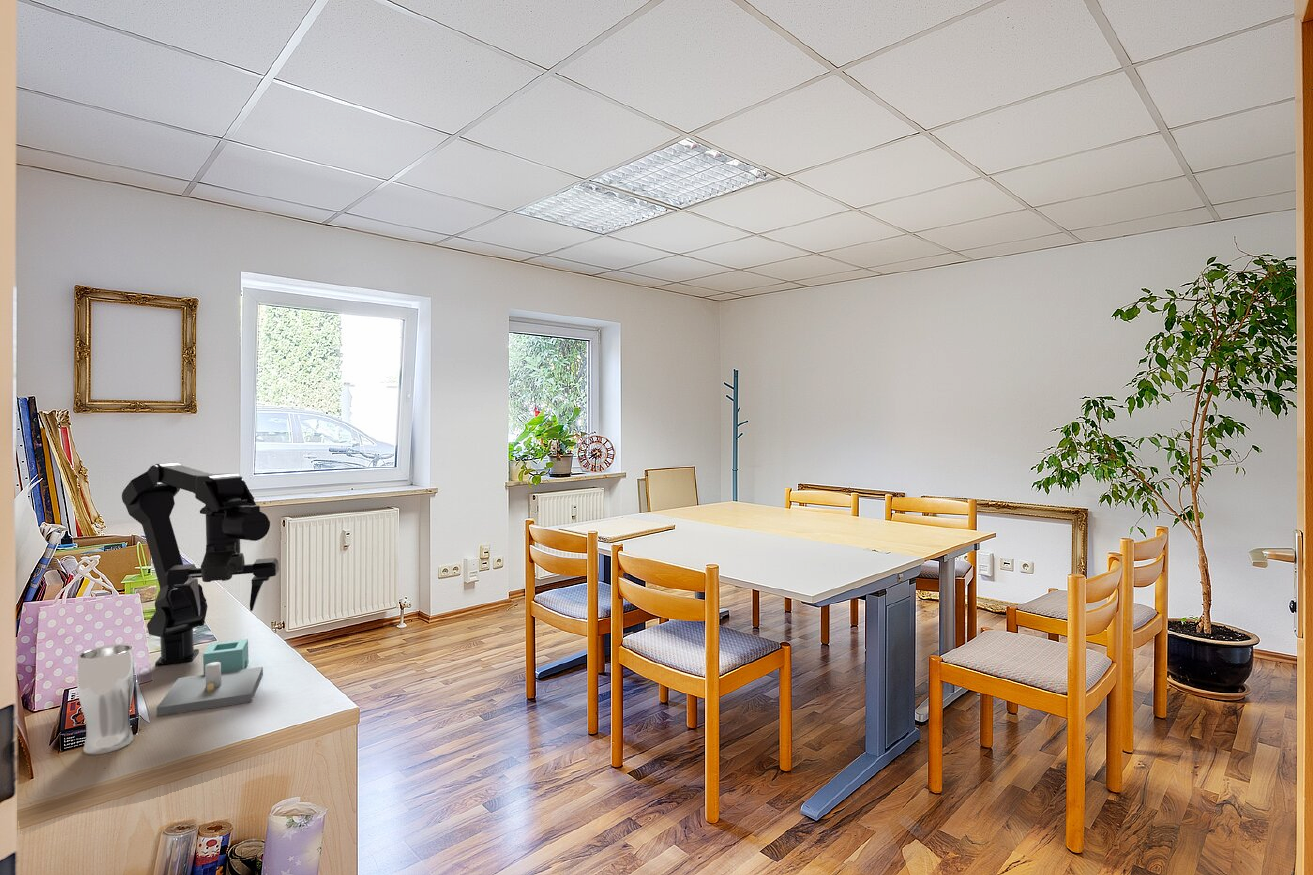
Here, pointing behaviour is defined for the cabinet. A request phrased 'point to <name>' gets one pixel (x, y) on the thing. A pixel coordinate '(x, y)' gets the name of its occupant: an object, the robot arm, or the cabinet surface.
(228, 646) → the collar
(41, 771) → the cabinet surface
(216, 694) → the base
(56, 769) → the cabinet surface
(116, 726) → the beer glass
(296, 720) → the cabinet surface
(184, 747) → the cabinet surface
